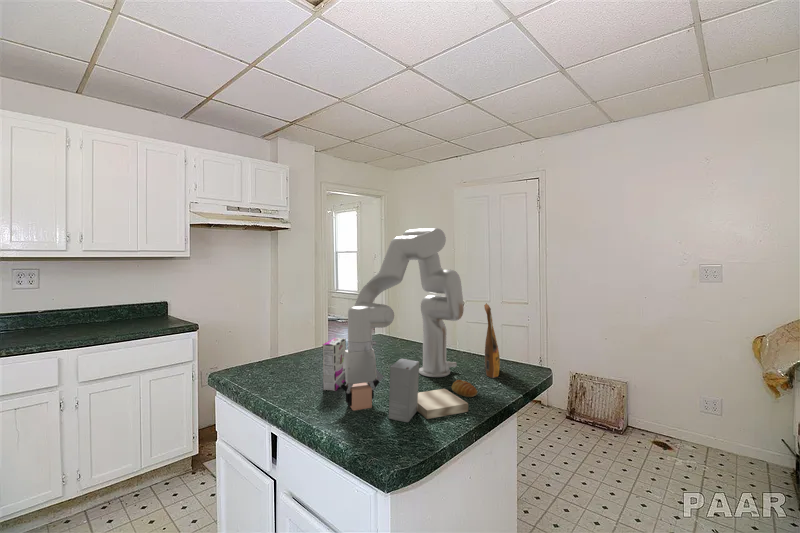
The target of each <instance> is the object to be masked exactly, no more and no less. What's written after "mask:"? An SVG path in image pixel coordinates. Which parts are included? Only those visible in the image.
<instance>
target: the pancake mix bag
mask: <svg viewBox="0 0 800 533" xmlns="http://www.w3.org/2000/svg"><path fill="white" fill-rule="evenodd" d="M484 310H485V313H486V318H487V329H486V337H485V344H484V365H485V366H484V367H485V373H486V376H487V377H488V378H492V379H494V378H498V377H499V375H500V367H501V366H500V365H501V361H500V360H501V358H500V357H501V356H500V352H499V345H498V342H497V338H496V333H495V332H496V331H495V330H494V326H493V324H494V323H493V316H492V315H493V314H492V311H491V310H492V308H491V306H490V305H489V304H488V303H487V302H486V303H485V304H484Z"/></svg>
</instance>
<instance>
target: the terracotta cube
mask: <svg viewBox="0 0 800 533" xmlns="http://www.w3.org/2000/svg"><path fill="white" fill-rule="evenodd" d="M351 393H352V405H351V406H349V407H350V408H351V410H352V411H359V410H360V411H361V410H365V409H372V406H373V405H372V404H373V399H372V388H371V387H370V386H369V385H368V383H367V382H365V383H357V384H353V386H352V388H351Z"/></svg>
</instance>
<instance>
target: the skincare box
mask: <svg viewBox="0 0 800 533" xmlns="http://www.w3.org/2000/svg"><path fill="white" fill-rule="evenodd" d="M389 369H390V370H389V371H390V372H389V393H388V394H389V395H388V419H389V420H395V421H399V422H404V423H409V422H410V421H411V420H412V419H413V417H414V416H415V415H416V414H417V412H418V411H417V402H418V393H419V376H420V373H419V369H420V361H418V360H412V359H406V358H399V359H398V360H397V361H396V362H394V363H392V364H391V365H390V366H389Z"/></svg>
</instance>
